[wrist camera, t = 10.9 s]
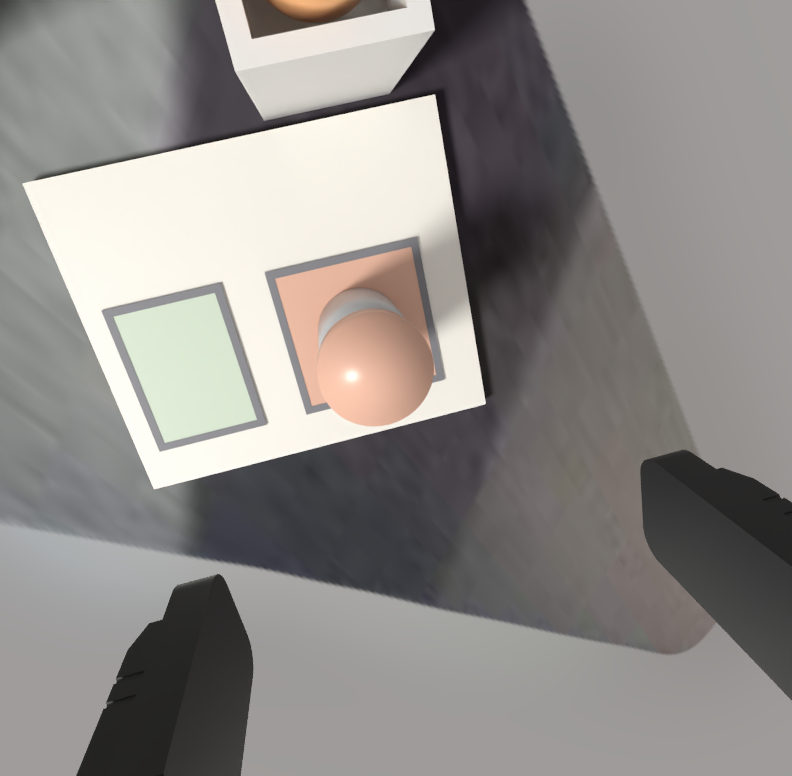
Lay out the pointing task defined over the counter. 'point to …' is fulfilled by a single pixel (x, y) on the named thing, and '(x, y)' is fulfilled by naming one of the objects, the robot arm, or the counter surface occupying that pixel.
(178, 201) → the picture board
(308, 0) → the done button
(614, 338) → the counter surface
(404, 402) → the peach-capped grey cylinder
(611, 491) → the counter surface
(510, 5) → the counter surface
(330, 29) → the white open box
